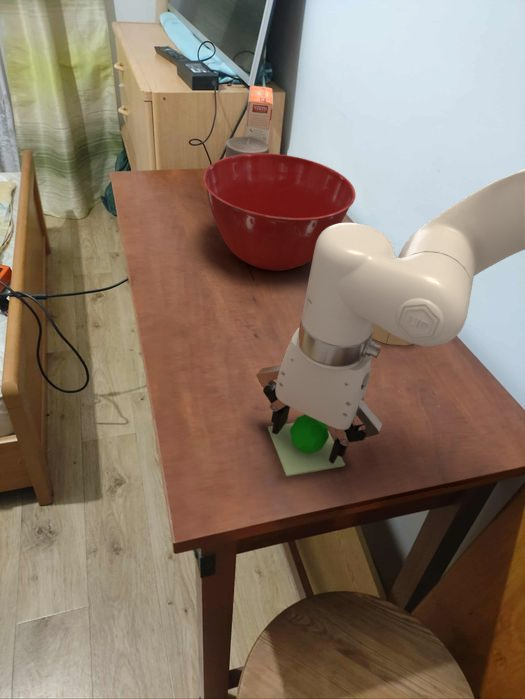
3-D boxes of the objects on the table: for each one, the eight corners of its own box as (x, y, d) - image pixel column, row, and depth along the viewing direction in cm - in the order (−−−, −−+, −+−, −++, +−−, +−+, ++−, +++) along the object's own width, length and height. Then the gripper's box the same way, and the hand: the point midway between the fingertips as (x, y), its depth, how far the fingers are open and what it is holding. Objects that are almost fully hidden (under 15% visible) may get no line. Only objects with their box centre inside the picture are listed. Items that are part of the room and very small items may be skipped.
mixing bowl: (330, 306, 93) (348, 229, 83) (181, 274, 95) (181, 196, 85) (345, 236, 114) (361, 168, 104) (222, 212, 117) (226, 143, 107)
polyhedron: (285, 456, 65) (290, 432, 62) (290, 427, 69) (295, 403, 66) (323, 463, 65) (330, 440, 62) (326, 434, 69) (333, 410, 66)
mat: (322, 420, 71) (322, 418, 71) (344, 466, 66) (345, 464, 65) (267, 428, 69) (268, 426, 69) (286, 477, 63) (286, 475, 63)
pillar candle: (257, 193, 127) (263, 130, 117) (267, 210, 120) (275, 146, 110) (218, 193, 124) (221, 130, 114) (227, 212, 117) (231, 145, 107)
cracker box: (263, 192, 127) (273, 103, 114) (239, 190, 127) (246, 100, 113) (264, 171, 138) (273, 87, 124) (242, 168, 138) (248, 84, 124)
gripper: (419, 350, 55) (378, 452, 66) (278, 293, 61) (263, 396, 72) (398, 390, 50) (357, 493, 61) (246, 324, 55) (235, 430, 67)
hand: (307, 440), depth 67 cm, fingers open, 7 cm apart
